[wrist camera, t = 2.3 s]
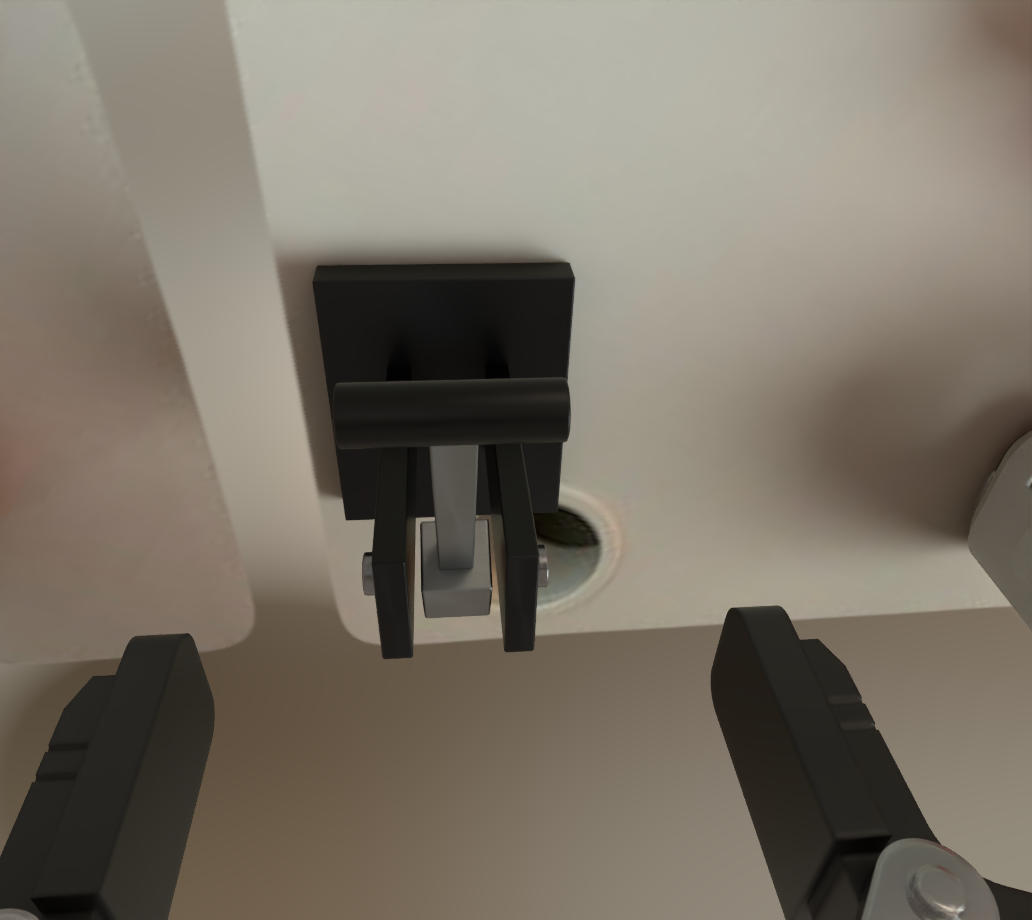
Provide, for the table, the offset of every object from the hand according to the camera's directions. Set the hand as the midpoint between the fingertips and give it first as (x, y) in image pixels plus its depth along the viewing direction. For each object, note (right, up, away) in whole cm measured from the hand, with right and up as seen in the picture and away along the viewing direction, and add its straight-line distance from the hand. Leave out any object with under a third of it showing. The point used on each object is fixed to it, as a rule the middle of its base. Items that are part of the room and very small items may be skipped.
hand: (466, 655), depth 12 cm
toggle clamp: (-2, +6, +23) cm, 24 cm away
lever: (-1, +3, +11) cm, 11 cm away
